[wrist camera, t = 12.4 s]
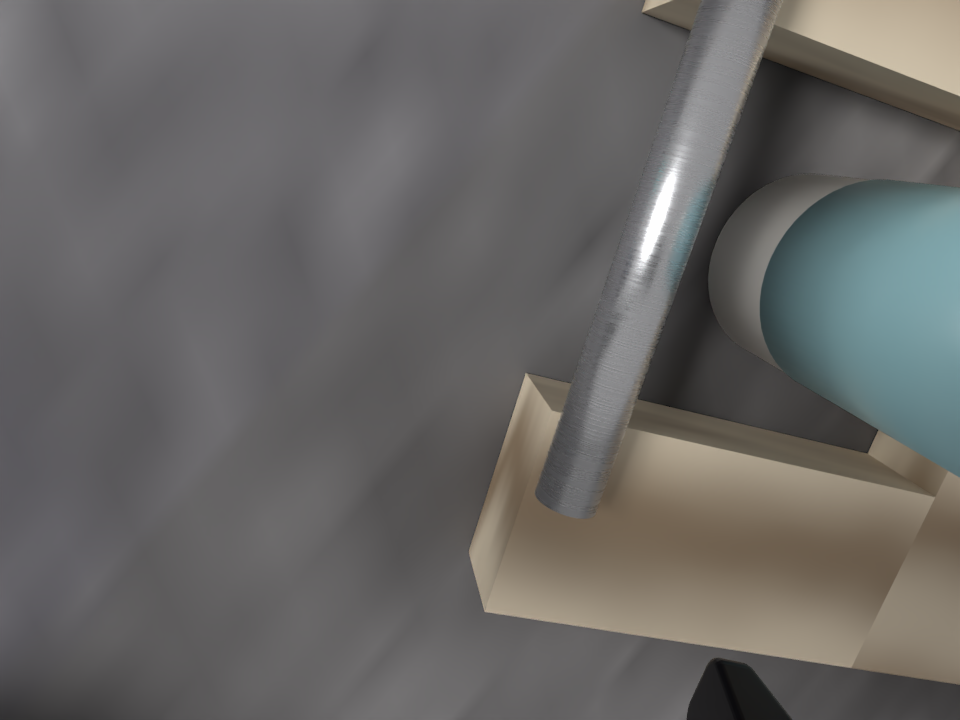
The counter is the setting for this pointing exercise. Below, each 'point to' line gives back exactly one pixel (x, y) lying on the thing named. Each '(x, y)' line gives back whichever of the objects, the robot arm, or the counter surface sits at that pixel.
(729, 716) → the robot arm
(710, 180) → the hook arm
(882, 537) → the light wood flat tray
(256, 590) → the counter surface
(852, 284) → the white teal rounded cylinder
